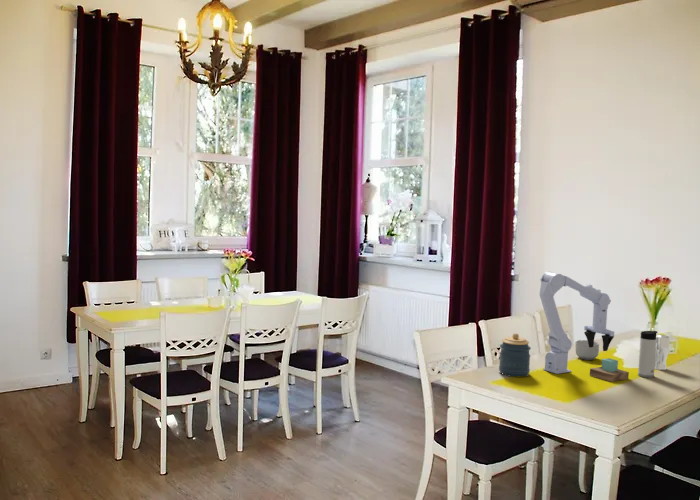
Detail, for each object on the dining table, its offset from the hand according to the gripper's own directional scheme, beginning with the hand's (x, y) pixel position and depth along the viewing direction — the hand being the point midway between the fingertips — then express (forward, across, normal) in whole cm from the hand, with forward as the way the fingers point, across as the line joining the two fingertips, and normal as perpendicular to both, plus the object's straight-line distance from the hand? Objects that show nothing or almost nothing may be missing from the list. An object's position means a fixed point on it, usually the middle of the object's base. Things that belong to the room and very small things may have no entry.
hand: (598, 349), depth 287 cm
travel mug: (+10, -17, -11) cm, 22 cm away
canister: (+10, +11, +40) cm, 43 cm away
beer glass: (+10, -11, -29) cm, 32 cm away
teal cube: (+6, -11, +6) cm, 14 cm away
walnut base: (+9, -11, +6) cm, 16 cm away
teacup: (+10, +18, -14) cm, 25 cm away
